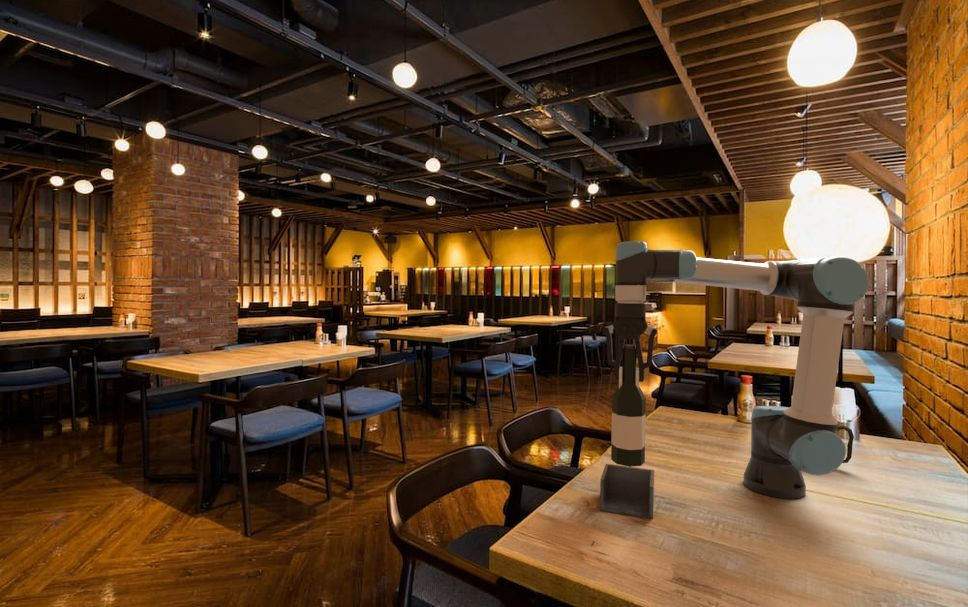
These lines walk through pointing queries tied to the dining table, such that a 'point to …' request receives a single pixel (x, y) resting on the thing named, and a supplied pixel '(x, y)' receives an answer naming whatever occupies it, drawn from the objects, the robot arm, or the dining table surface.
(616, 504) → the bottle rest
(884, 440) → the dining table surface
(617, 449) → the wine bottle
